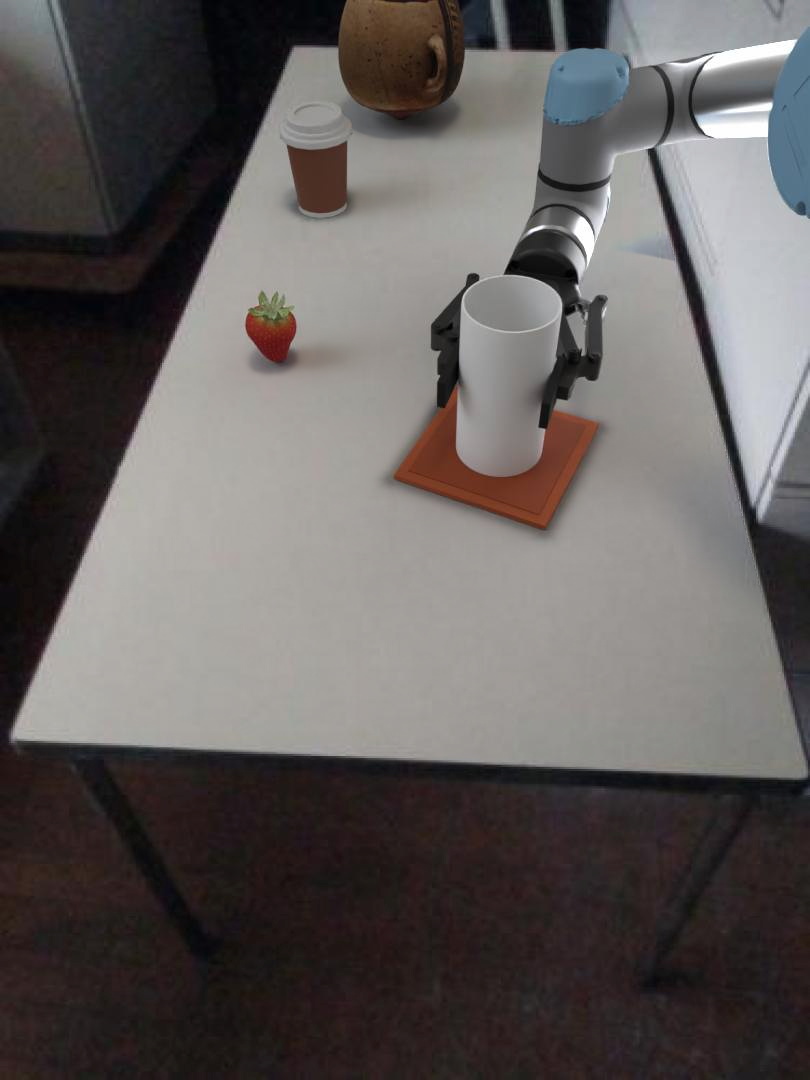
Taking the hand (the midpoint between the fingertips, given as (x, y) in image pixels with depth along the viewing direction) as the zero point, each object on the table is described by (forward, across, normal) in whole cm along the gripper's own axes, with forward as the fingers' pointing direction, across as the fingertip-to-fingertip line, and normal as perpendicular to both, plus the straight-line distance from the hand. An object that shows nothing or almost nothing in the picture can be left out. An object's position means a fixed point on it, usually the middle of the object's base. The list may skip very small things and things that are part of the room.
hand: (492, 405), depth 72 cm
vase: (-72, +32, -10) cm, 79 cm away
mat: (-5, 0, -10) cm, 11 cm away
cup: (-5, 0, -9) cm, 10 cm away
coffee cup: (-44, +34, -10) cm, 56 cm away
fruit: (-11, +26, -10) cm, 30 cm away
